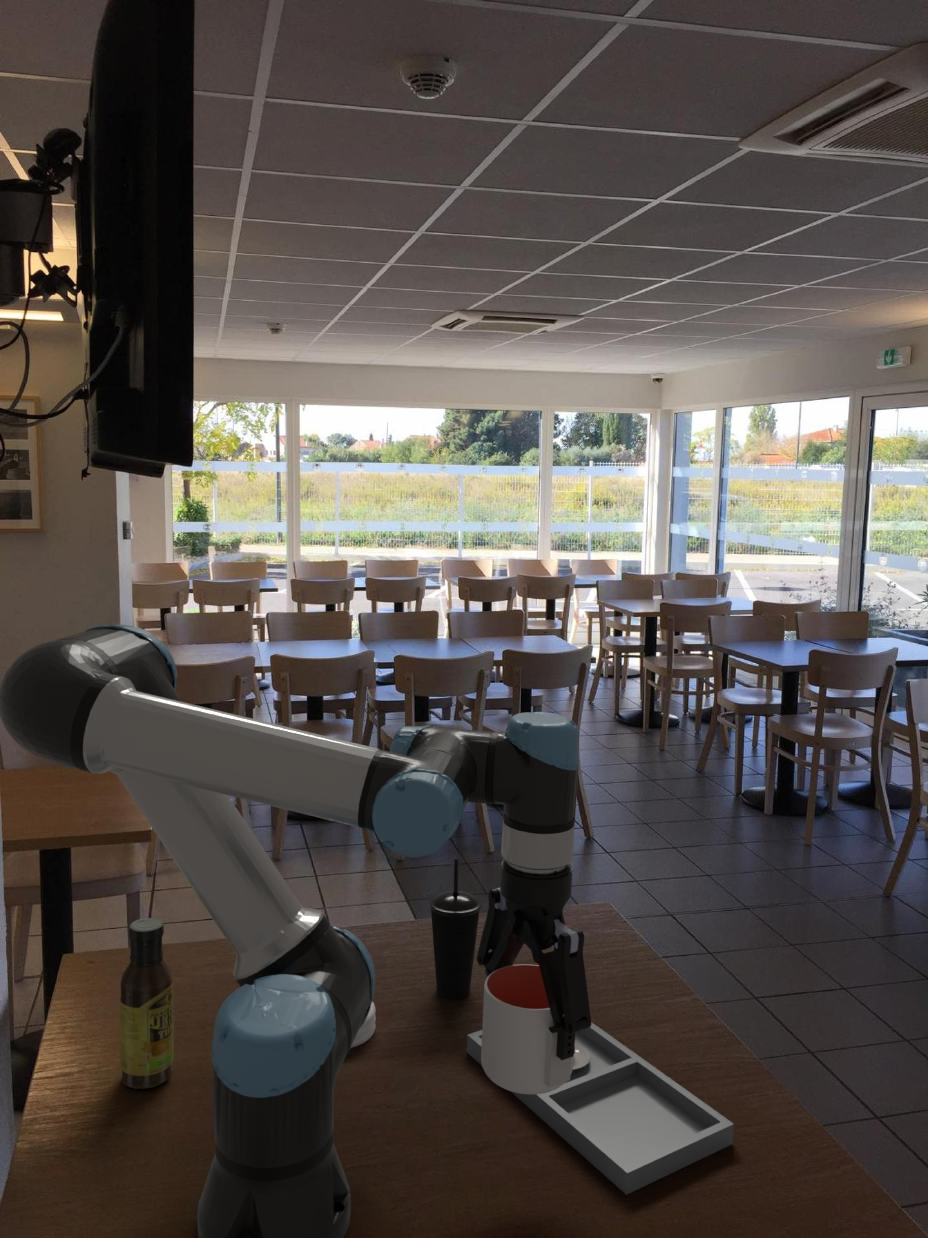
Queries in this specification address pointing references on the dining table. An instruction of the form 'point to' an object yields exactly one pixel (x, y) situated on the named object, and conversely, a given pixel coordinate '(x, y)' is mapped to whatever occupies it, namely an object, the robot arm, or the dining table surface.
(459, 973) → the drinking cup
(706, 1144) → the carrier tray
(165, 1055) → the sauce bottle
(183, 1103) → the dining table surface
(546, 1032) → the cup
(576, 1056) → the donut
